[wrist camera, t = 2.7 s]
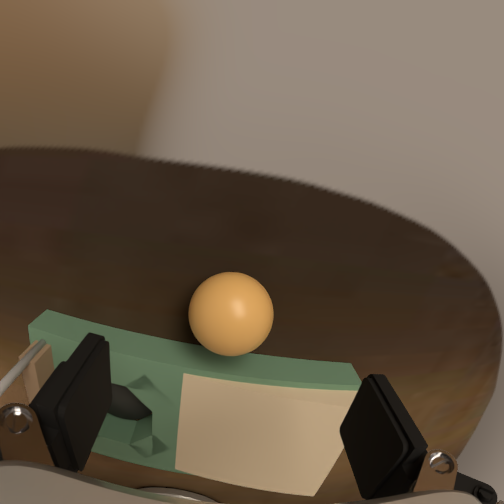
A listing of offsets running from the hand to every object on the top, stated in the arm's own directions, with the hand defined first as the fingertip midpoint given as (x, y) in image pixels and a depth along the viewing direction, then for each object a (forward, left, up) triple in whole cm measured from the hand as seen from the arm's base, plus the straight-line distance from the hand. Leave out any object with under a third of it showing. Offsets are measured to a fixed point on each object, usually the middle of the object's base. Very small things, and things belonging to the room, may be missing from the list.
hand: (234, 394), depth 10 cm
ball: (-1, +1, -8) cm, 8 cm away
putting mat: (-6, +9, -11) cm, 15 cm away
